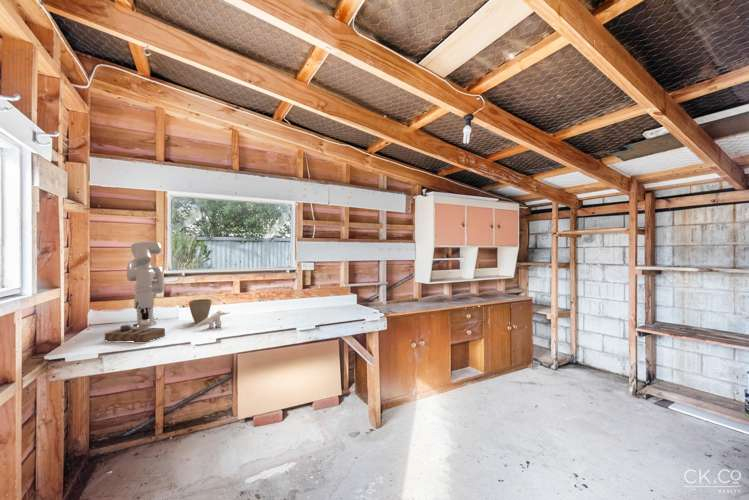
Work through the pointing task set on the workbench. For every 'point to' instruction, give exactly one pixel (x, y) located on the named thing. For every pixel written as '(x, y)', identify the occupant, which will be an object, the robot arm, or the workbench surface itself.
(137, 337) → the mount
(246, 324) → the workbench surface
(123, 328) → the black knob
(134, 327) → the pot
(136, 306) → the robot arm
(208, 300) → the plant pot
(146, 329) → the ivory knob
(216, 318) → the white dinosaur figurine
